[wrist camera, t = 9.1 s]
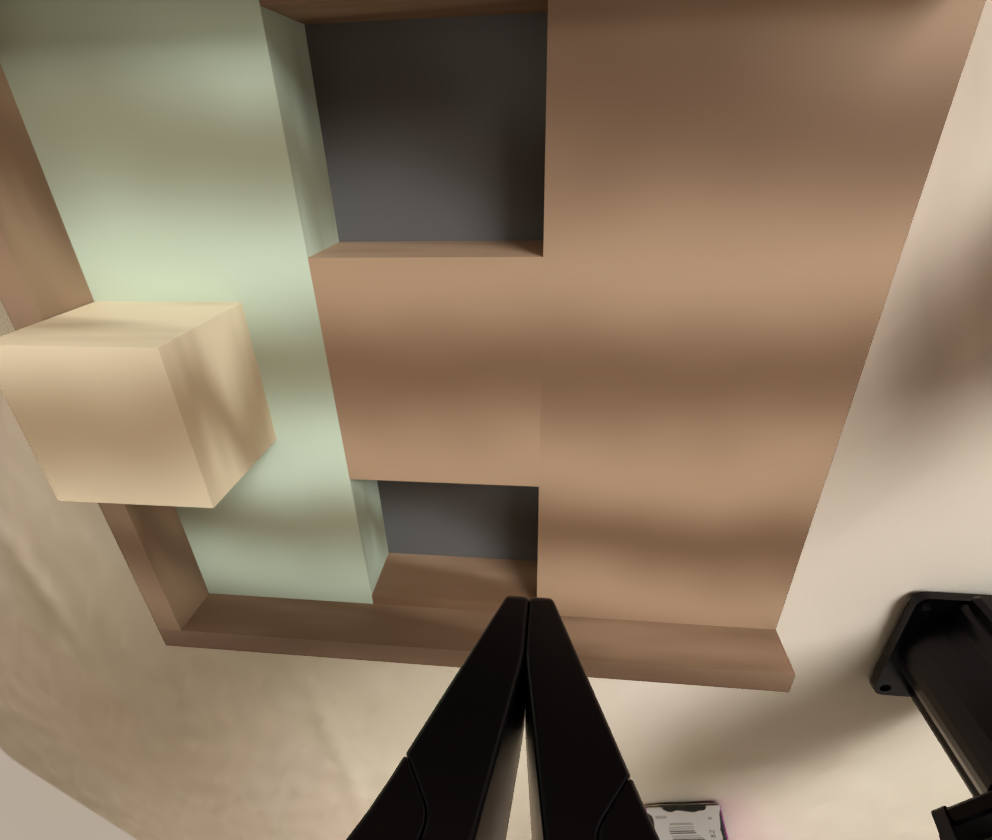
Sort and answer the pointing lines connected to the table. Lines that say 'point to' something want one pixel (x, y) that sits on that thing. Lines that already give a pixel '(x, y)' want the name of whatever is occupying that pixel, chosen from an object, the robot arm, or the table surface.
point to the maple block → (139, 401)
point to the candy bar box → (688, 821)
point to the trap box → (489, 295)
